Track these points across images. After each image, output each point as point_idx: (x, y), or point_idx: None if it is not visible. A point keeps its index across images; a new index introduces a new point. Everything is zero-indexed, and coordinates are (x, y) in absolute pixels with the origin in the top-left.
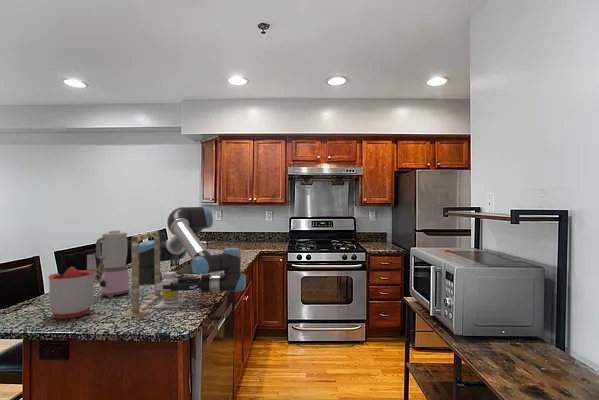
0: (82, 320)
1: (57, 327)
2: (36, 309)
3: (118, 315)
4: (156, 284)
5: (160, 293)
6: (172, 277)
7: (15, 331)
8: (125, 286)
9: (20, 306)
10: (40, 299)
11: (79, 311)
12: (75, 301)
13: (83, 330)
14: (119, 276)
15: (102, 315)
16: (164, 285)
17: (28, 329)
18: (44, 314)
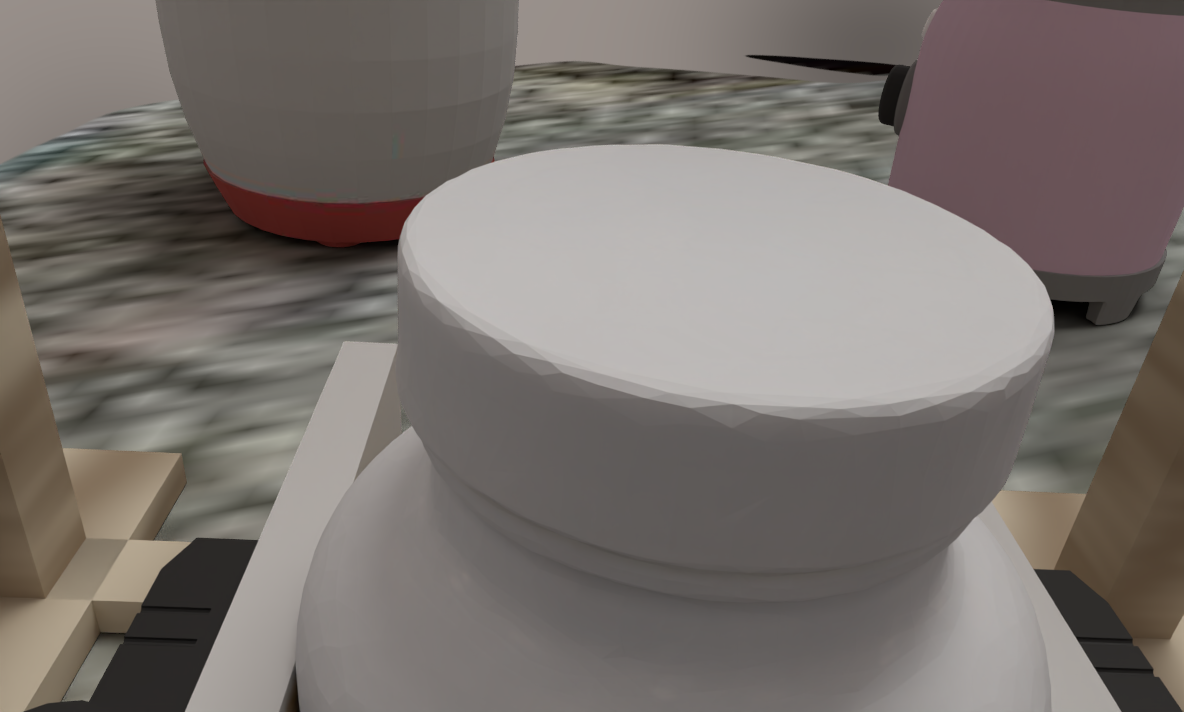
0: (139, 262)
1: (26, 206)
2: (559, 103)
3: (146, 431)
4: (336, 367)
5: (1177, 623)
6: (488, 552)
7: (93, 121)
8: (1051, 225)
9: (630, 72)
10: (771, 86)
11: (232, 182)
12: (176, 67)
13: None
14: (1011, 66)
15: (238, 327)
16: (237, 571)
17: (96, 141)
18: None
